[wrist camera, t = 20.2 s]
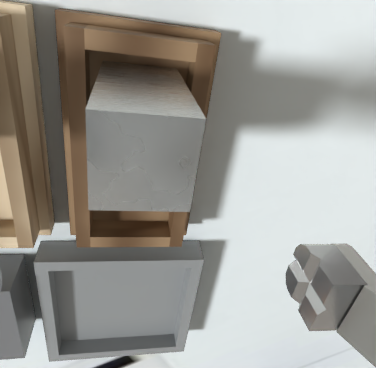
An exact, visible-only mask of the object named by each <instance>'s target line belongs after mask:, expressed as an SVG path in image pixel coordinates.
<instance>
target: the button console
mask: <svg viewBox="0 0 376 368" xmlns="http://www.w3.org/2000/svg"><path fill="white" fill-rule="evenodd" d="M0 268H1V273H2V287H1V292H0V360H1V359H15V358H25V355H26V351H27V348H28V344H29V341H30V337H31V334H32V330H33V327H34V323H35V320H36V318H35V312H34V307H33V301H32V295H31V290H30V284H29V278H28V273H27V267H26V261H25V256H24V254H0Z"/></svg>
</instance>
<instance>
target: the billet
mask: <svg viewBox="0 0 376 368" xmlns="http://www.w3.org/2000/svg"><path fill="white" fill-rule="evenodd" d="M85 114H86V146H87V179H88V210H103V211H161V212H190V209H191V204H192V198H193V192H194V186H195V181H196V175H197V169H198V164H199V158H200V152H201V146H202V141H203V135H204V129H205V123H206V118H205V116H204V114H203V112H202V111H201V109H200V107H199V106H198V104H197V102H196V100H195V99H194V97H193V95H192V94H191V92H190V90H189V88H188V87H187V85H186V83H185V82H184V80H183V78H182V76H181V75H180V73H179V71H178V70H177V69H176V68H167V67H158V66H149V65H140V64H131V63H122V62H113V61H104V60H103V62H102V65H101V67H100V70H99V73H98V76H97V79H96V81H95V84H94V87H93V90H92V92H91V95H90V98H89V101H88V103H87V106H86V109H85Z"/></svg>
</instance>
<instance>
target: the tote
mask: <svg viewBox="0 0 376 368" xmlns="http://www.w3.org/2000/svg"><path fill="white" fill-rule="evenodd" d="M33 263H34V269H35V275H36V282H37V288H38V294H39V301H40V307H41V313H42V320H43V326H44V332H45V338H46V345H47V351H48V357H49V362H50V361H63V360H76V359H89V358H102V357H115V356H128V355H142V354H155V353H168V352H181V351H184V347H185V343H186V339H187V334H188V330H189V325H190V321H191V316H192V312H193V307H194V303H195V298H196V294H197V290H198V285H199V281H200V276H201V272H202V267H203V263H204V258H203V254H202V250H201V247H200V243H199V241H182V247H77V245H76V241H41V242H40V245H39V248H38V251H37V254H36V257H35V260H34V262H33Z"/></svg>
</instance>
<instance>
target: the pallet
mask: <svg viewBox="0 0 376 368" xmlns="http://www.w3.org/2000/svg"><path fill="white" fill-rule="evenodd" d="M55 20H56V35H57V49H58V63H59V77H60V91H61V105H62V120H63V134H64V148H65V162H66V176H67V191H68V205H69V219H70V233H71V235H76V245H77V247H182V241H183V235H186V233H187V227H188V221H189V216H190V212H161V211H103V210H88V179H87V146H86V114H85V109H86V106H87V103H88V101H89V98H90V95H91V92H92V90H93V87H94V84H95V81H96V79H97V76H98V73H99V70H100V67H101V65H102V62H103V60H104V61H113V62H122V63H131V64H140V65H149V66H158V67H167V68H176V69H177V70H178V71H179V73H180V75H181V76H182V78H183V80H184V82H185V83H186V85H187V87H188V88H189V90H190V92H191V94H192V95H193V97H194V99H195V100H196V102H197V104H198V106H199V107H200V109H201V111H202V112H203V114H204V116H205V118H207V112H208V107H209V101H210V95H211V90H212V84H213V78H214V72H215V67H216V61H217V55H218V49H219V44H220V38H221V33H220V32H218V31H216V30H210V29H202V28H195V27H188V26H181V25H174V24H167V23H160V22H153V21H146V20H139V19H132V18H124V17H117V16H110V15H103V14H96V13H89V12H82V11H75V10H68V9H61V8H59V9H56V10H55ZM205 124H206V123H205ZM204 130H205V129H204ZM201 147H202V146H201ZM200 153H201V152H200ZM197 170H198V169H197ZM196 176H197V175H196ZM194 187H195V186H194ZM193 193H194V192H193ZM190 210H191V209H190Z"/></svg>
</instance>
